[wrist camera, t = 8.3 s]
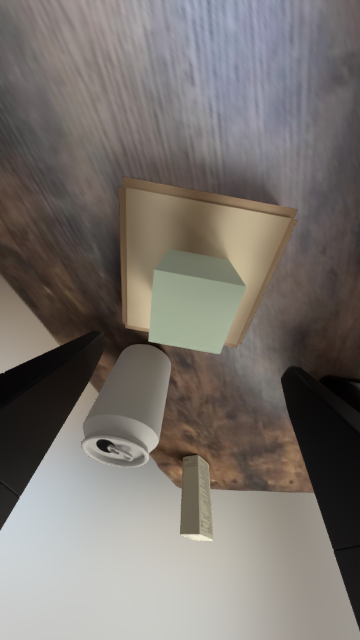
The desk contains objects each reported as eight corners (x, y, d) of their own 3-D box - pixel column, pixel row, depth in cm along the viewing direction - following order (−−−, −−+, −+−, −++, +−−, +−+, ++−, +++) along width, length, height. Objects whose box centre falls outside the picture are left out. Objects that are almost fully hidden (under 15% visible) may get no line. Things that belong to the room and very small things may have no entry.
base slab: (285, 210, 15) (303, 210, 12) (234, 333, 22) (239, 349, 19) (131, 181, 14) (117, 175, 12) (131, 314, 22) (122, 328, 19)
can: (121, 335, 24) (63, 429, 13) (175, 345, 24) (158, 445, 14) (122, 371, 28) (78, 465, 17) (168, 380, 28) (151, 477, 18)
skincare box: (182, 456, 42) (177, 534, 32) (198, 453, 41) (199, 534, 31) (194, 466, 45) (193, 541, 35) (210, 464, 44) (214, 542, 33)
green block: (229, 259, 14) (246, 286, 9) (213, 311, 17) (220, 354, 12) (169, 248, 14) (153, 269, 9) (163, 302, 17) (148, 341, 12)
